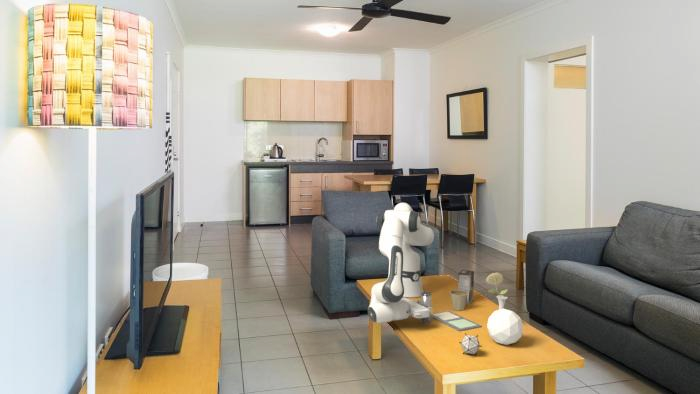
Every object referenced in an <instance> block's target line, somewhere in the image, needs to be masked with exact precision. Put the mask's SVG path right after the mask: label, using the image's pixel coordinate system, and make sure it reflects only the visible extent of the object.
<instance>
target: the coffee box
mask: <svg viewBox="0 0 700 394" xmlns="http://www.w3.org/2000/svg"><path fill="white" fill-rule="evenodd" d="M474 275H475V271H474V270H468V269H462V270H461V271H460V272H459V273H458V280H457V281H458V282H457V283H458V286H457V287H458V288H457V290H462V291H466V292H468V295H467V298H466V304H465V305H470V304H471V303H472V302H473V301H474V286H475V285H474V281H475V279H474V278H475V277H474Z"/></svg>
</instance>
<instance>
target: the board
mask: <svg viewBox="0 0 700 394" xmlns="http://www.w3.org/2000/svg"><path fill="white" fill-rule="evenodd" d="M430 318H432V319H434V320H435V321H438V322H440V323H442V324H443V325H446V326H448V327H450V328H452V329H454V330H455V331H458V332H463V331H469V330H473V329H479V328H482V327H483V325H482V324H479V323H477V322H474V321H472V320H470V319H468V318H465V317H464V316H462V315H459V314H458V313H455V312H452V311H450V310H445V311H441V312H440V311H439V312H435V313H431V316H430Z"/></svg>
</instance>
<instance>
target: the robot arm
mask: <svg viewBox="0 0 700 394" xmlns="http://www.w3.org/2000/svg"><path fill="white" fill-rule="evenodd" d="M375 221H376V227H377V228H378V229H379V230H380V233H379V239H378V241H379V242H378V250H379V252H380V253H381V254H382V255H383V256H384V257H387V258H388V264H389V265H388V276H387V279H386V280H385V281H379V282H376V283H374V284H373V285H372V287H371V289H370V297H371V298H370V302H369V306H368V307H367V314H368V317H369V319H370V320H371V321H372V322H374V323H376V324H381V323H382V324H383V323H390V322H392V321H402V320H407V319H408V318H409V317H410V316H411V317H412V318H414V319H421V318H426V317H429V316H430V311H431V312H433V310H434V307H433V306H432V305H431V306H430V307H428V308H426V307H424V306H422V305H421V300H412V299H409V298H418V297H421V292H425V291H424V289H423V281H422V280H423V279H422V277H421V273H422V272H421V257H420V254H419V253H418V252H416V251H414V250H413V249H412V248H411V246H415V247H417V246H418V247H426V246H430V245H431V244H432V243H433V242H434V239H435V233H434V230H433V229H432V228H431V227H429V226H426V225H424V224H422V223H421V216H420V214H419V213H418V212H417V211H414V210H413V208H412V207H411V205H410V204H408V203H407V202H399V203H397V204H396V205H395V206H394V207H393V209H382V210H380V211H379V212H378V213H377V215H376V220H375Z"/></svg>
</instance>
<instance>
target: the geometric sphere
mask: <svg viewBox="0 0 700 394" xmlns="http://www.w3.org/2000/svg"><path fill="white" fill-rule="evenodd" d="M486 325H487V326H486V327H487V331H488V333H489V334H488V336H489V337H490V338H491V339H492V340H494V341H495V342H496V343H498V344H501V345H504V346H509V345H511V344H516V343H517V341H519V340H520V339H521V337H523V330H524V325H523V321H522V318H521V317H520V316H519V315H518V314H517V313H516V312H515V311H512V310H510V309H507V308H504V309H501V310H499V309H496V310H495V311H493V312H492V313H491V315H489V317H488V320H487V324H486Z"/></svg>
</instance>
